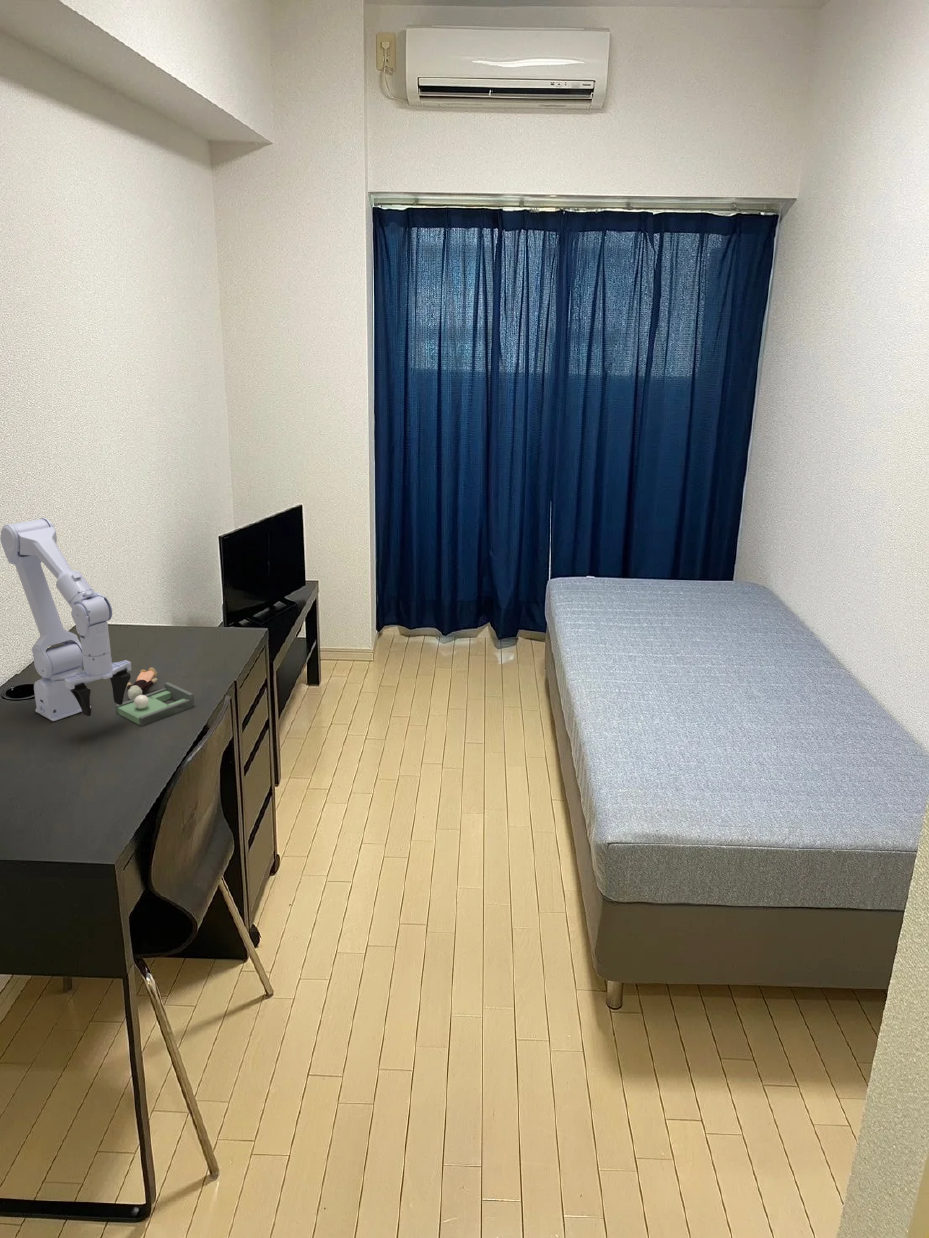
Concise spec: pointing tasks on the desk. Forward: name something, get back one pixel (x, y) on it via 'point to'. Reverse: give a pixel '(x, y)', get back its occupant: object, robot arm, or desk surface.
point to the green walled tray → (157, 705)
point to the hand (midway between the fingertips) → (102, 708)
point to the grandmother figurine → (142, 683)
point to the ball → (141, 701)
